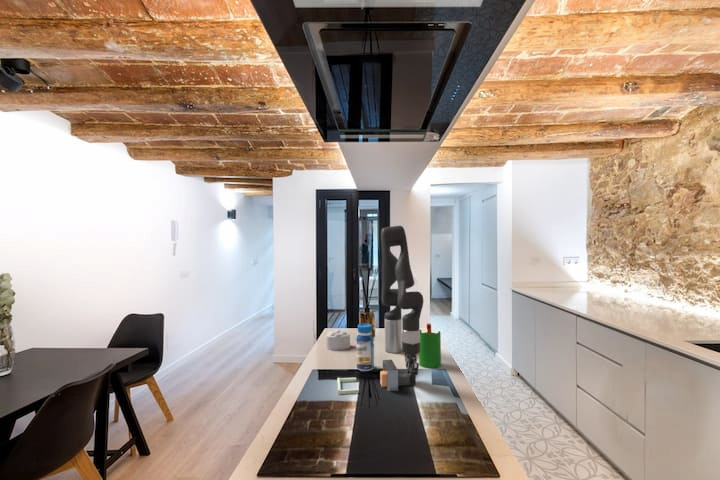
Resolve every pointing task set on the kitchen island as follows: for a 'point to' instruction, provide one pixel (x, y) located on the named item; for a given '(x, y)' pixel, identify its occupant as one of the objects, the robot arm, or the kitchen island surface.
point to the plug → (402, 379)
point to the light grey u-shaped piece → (348, 391)
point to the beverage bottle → (365, 348)
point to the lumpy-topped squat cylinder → (338, 340)
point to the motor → (430, 349)
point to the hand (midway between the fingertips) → (411, 381)
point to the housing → (391, 375)
